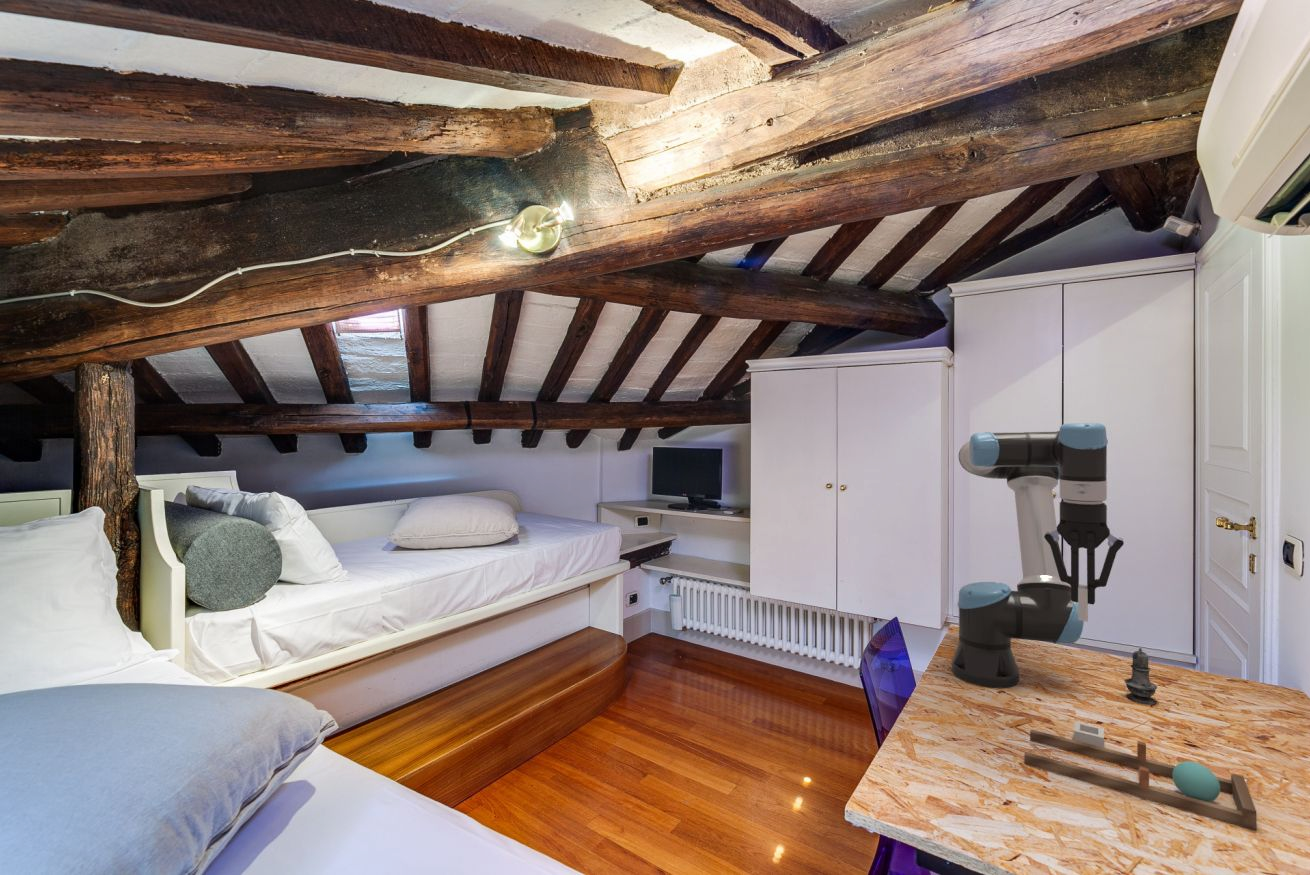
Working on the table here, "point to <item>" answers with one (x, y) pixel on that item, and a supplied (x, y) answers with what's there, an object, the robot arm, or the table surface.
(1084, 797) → the table surface
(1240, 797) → the lane
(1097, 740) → the white square frame
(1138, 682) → the dark grey chess piece
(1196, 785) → the ball
